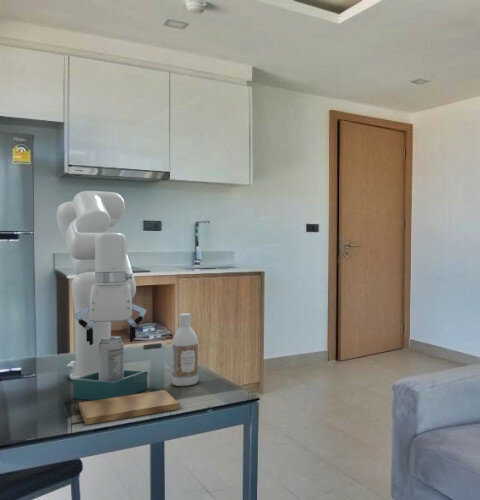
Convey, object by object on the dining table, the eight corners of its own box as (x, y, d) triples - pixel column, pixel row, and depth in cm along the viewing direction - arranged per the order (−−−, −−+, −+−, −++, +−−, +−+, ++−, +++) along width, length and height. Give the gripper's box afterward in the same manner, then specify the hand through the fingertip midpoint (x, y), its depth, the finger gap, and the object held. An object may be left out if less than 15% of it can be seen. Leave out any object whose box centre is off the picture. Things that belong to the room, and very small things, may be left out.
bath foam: (175, 388, 148) (175, 316, 148) (169, 382, 154) (169, 313, 153) (200, 384, 152) (200, 314, 151) (194, 379, 158) (194, 312, 157)
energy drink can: (114, 389, 147) (114, 335, 147) (128, 392, 144) (128, 336, 144) (94, 394, 142) (93, 338, 141) (107, 397, 139) (107, 340, 138)
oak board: (86, 424, 118) (85, 418, 118) (78, 408, 129) (78, 402, 129) (178, 408, 129) (179, 402, 129) (164, 395, 141) (164, 389, 141)
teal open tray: (73, 398, 138) (73, 379, 138) (109, 385, 150) (109, 368, 150) (113, 402, 135) (113, 382, 135) (147, 388, 147) (147, 370, 147)
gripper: (145, 277, 149) (146, 338, 149) (75, 279, 142) (75, 343, 142) (146, 278, 142) (147, 342, 142) (72, 280, 135) (73, 347, 135)
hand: (111, 342), depth 142 cm, fingers open, 9 cm apart
